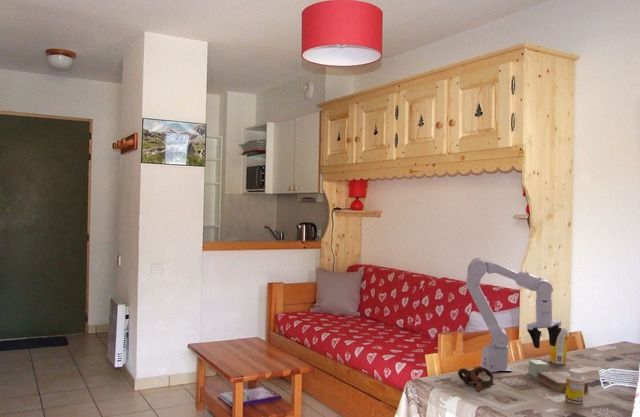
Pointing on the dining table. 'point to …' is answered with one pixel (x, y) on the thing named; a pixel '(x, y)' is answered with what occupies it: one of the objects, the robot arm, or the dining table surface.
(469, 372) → the brown looped piece
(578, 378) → the supplement bottle
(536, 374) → the sage block
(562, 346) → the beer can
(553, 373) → the walnut base
